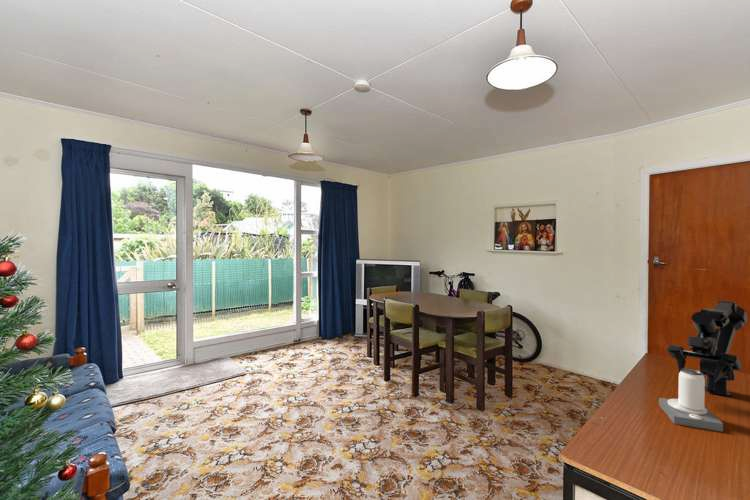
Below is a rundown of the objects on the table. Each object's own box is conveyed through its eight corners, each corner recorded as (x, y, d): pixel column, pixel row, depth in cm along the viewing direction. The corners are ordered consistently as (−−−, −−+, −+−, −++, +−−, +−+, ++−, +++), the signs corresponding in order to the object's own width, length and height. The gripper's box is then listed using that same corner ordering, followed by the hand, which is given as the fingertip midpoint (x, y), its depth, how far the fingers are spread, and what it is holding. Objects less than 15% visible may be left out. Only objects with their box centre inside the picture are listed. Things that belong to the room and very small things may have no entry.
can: (709, 410, 113) (710, 374, 113) (694, 412, 112) (694, 376, 112) (688, 401, 120) (688, 367, 119) (673, 403, 118) (673, 368, 118)
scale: (658, 404, 124) (659, 395, 124) (701, 410, 119) (702, 401, 119) (674, 423, 111) (674, 413, 111) (723, 431, 106) (723, 421, 106)
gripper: (667, 323, 131) (656, 358, 126) (735, 331, 115) (726, 372, 110) (677, 339, 135) (667, 374, 130) (745, 350, 119) (736, 390, 114)
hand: (696, 377), depth 121 cm, fingers open, 9 cm apart
